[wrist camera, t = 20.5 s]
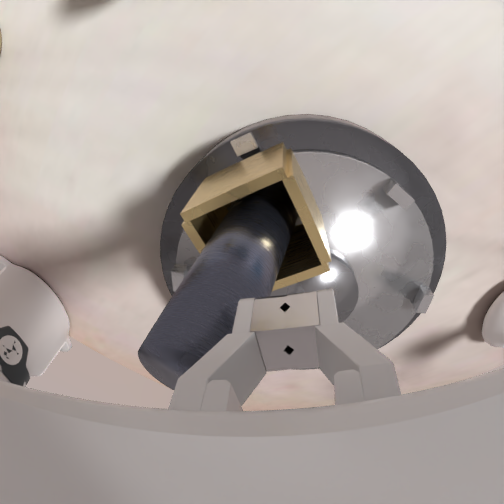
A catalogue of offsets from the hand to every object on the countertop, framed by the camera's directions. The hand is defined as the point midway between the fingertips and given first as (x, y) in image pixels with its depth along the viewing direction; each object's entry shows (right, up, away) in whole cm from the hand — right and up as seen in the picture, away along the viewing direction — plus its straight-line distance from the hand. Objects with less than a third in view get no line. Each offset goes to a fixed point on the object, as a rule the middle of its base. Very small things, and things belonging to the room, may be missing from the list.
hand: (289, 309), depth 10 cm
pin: (0, +6, +12) cm, 13 cm away
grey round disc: (+3, 0, +17) cm, 17 cm away
